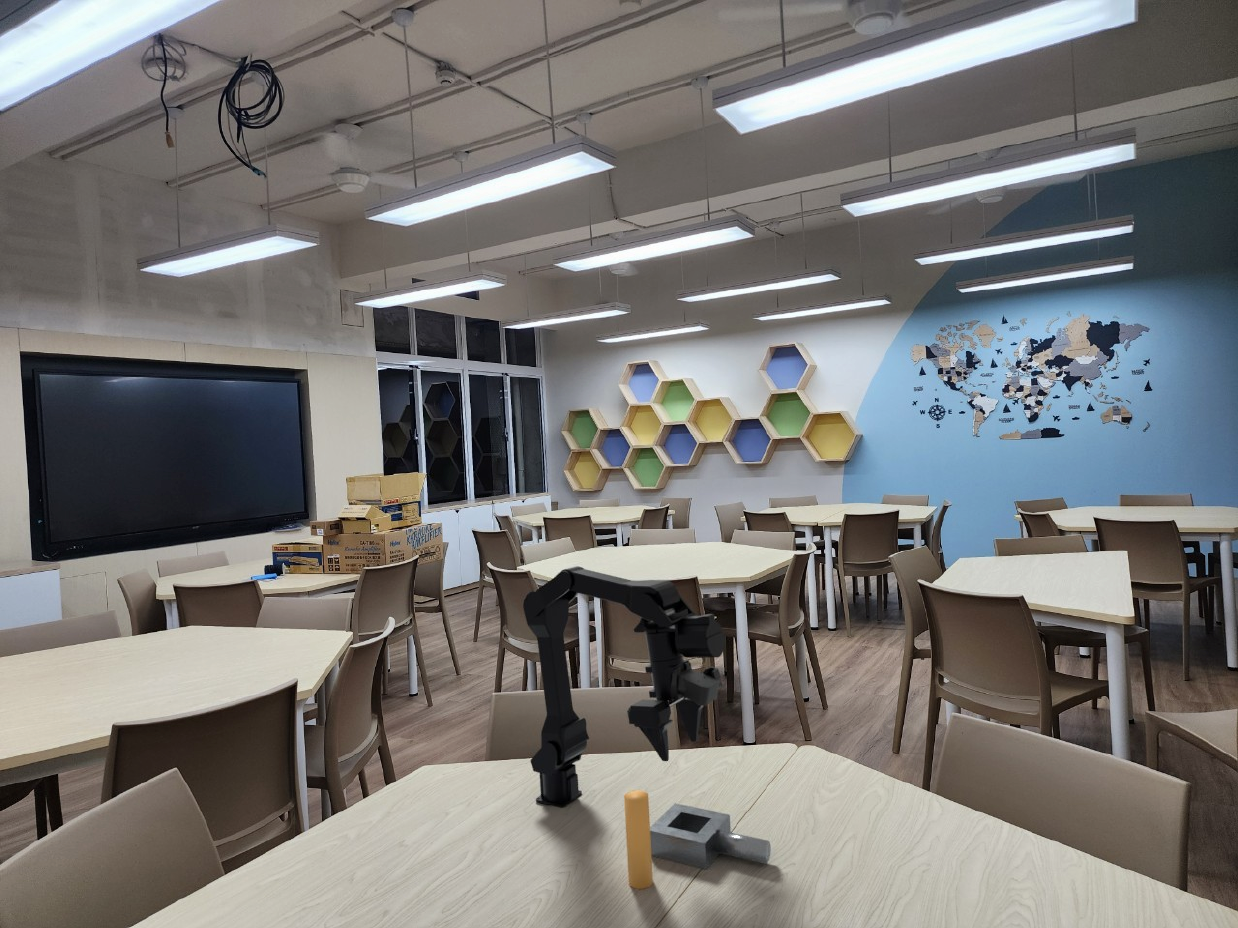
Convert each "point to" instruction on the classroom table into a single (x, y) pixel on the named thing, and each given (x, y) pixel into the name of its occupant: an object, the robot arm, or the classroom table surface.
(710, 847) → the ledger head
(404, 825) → the classroom table surface
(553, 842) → the classroom table surface
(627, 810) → the orange cylinder
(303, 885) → the classroom table surface
